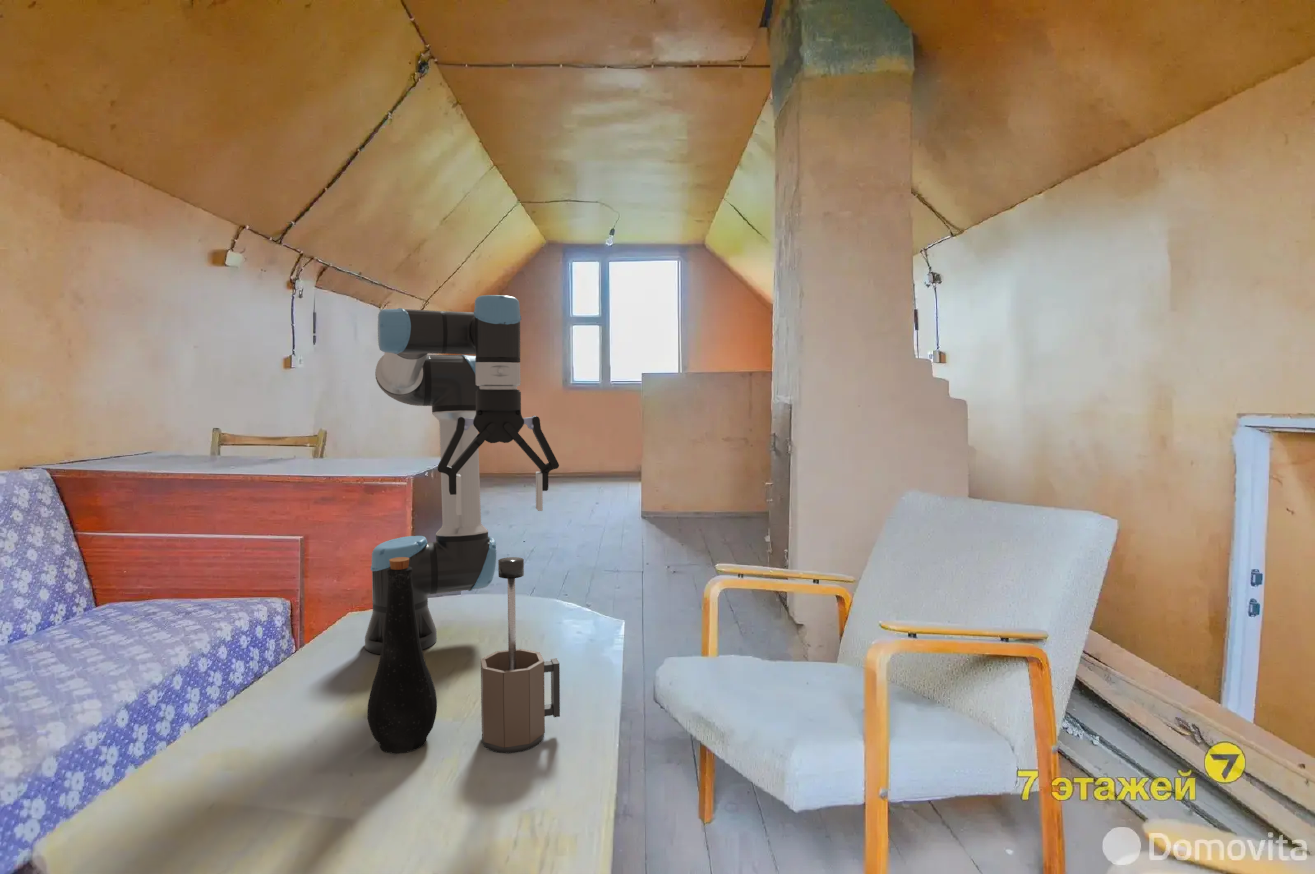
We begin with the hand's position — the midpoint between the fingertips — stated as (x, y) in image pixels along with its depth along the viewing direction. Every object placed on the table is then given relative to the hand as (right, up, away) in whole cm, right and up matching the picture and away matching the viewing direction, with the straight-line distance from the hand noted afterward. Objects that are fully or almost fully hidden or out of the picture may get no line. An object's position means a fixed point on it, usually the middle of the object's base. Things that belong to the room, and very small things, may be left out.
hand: (499, 511), depth 125 cm
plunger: (+4, -28, -7) cm, 29 cm away
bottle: (-14, -37, -8) cm, 40 cm away
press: (+5, -36, -6) cm, 37 cm away
